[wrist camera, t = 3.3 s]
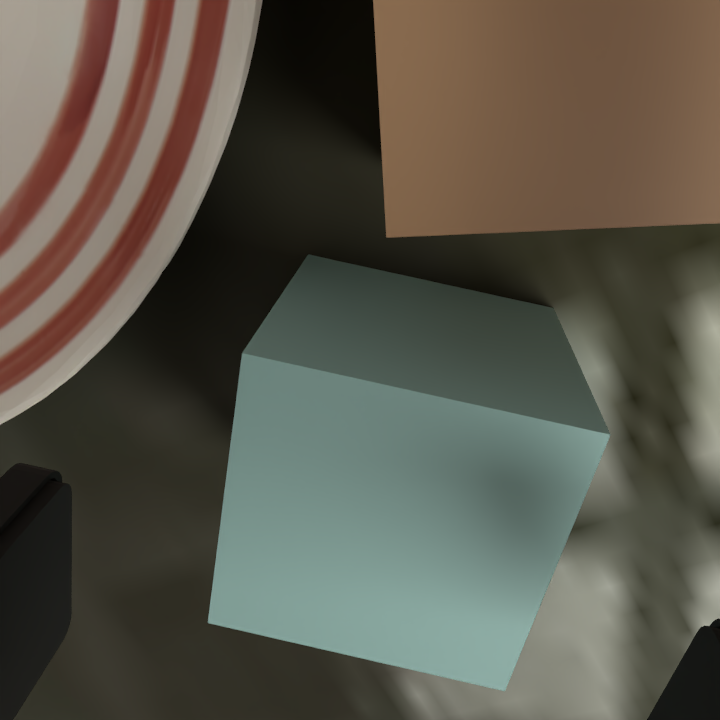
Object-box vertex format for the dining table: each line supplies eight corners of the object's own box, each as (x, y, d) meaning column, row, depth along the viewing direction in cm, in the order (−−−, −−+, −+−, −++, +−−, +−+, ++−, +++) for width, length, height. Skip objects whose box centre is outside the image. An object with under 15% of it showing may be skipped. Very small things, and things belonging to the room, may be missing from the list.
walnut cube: (727, -191, 12) (966, -397, 7) (685, 157, 14) (834, 217, 9) (392, -151, 13) (356, -305, 7) (405, 172, 15) (386, 237, 10)
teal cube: (552, 306, 16) (610, 434, 11) (485, 505, 19) (504, 691, 13) (308, 253, 16) (242, 353, 11) (275, 458, 19) (207, 623, 13)
